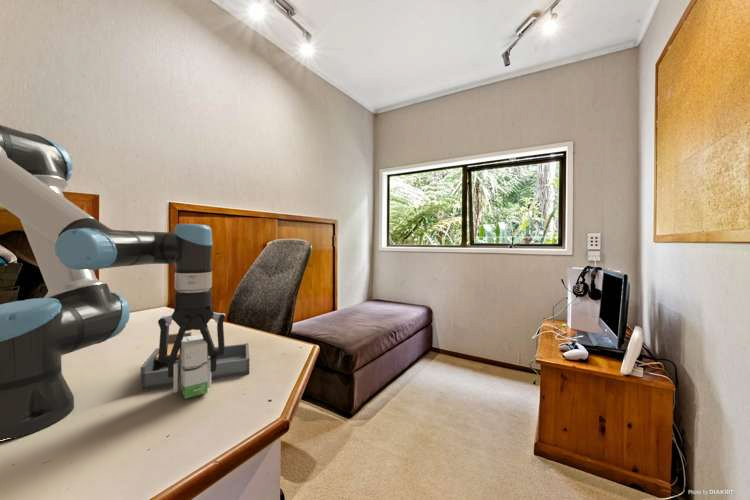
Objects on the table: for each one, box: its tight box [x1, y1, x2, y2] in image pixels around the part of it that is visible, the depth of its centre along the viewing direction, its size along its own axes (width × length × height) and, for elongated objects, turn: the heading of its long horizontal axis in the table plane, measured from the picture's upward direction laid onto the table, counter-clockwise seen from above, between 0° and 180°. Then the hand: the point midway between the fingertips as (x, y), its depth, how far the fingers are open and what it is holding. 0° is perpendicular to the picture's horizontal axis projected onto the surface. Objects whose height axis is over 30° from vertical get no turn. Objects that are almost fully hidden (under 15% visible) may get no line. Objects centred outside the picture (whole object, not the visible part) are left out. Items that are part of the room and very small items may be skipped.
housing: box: [140, 342, 250, 391], centre depth 84 cm, size 24×14×6 cm, turn 113°
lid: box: [155, 331, 192, 360], centre depth 88 cm, size 7×13×3 cm, turn 23°
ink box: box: [179, 334, 209, 400], centre depth 72 cm, size 9×5×12 cm, turn 39°
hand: (192, 387), depth 72 cm, fingers closed on ink box, 6 cm apart
